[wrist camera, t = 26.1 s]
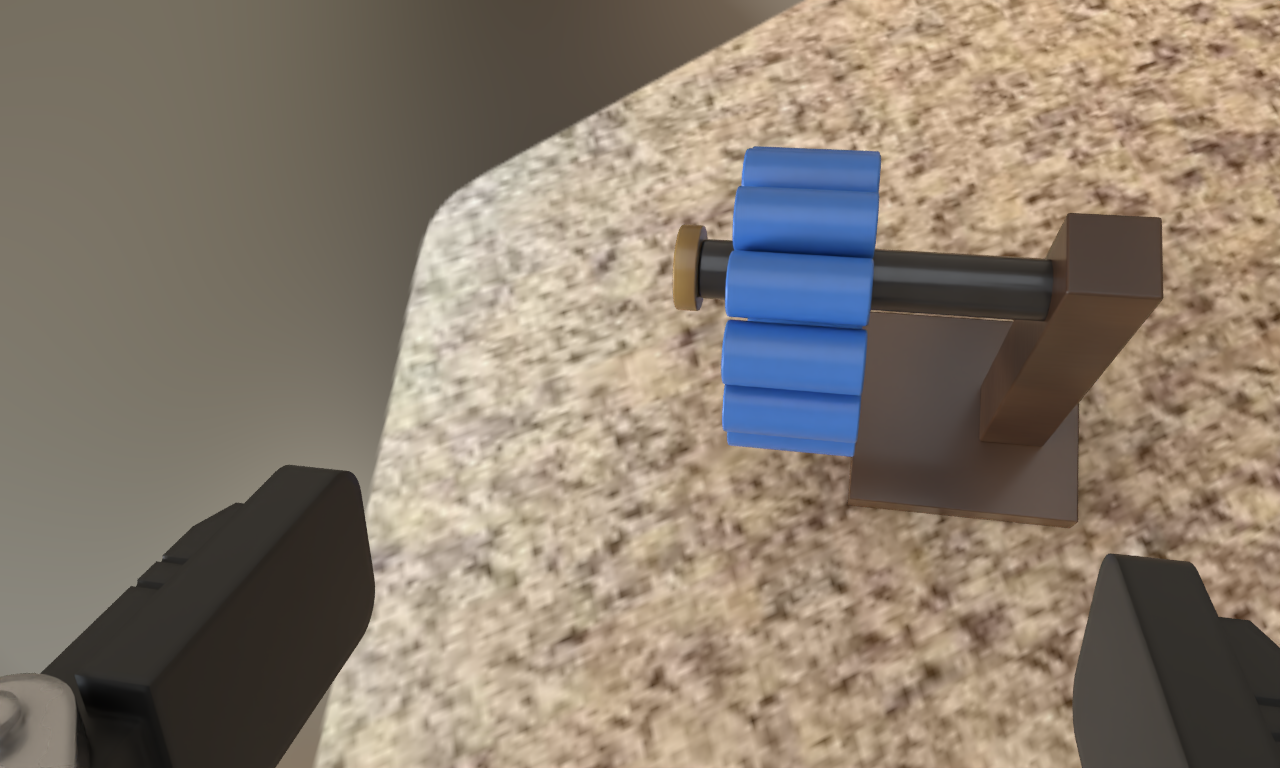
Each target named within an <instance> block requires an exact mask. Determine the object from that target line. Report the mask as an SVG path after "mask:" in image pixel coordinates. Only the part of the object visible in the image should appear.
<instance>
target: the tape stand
mask: <svg viewBox="0 0 1280 768" xmlns="http://www.w3.org/2000/svg"><path fill="white" fill-rule="evenodd" d="M732 251H734V248H733V241H730V240H713V239H708V238H707V231H706V228H705V226H701V225H682V226H681V227H680V229H679V232H678V235H677V240H676V245H675V252H674V262H673V299H674V304H675V307H676V309H678V310H690V311H698V310H700V308H701V305H702V302H703V298H706V299H721V300H725V288H726V275H727V267H728V261H729V257H730V254H731V252H732ZM873 260H874V275H873V288H872V300H871V310H881V311H896V312H911V313H925V314H940V315H954V316H969V317H984V318H998V319H1013V320H1014V321H1013V322H1012V321H997V320H983V319H968V318H954V317H939V316H925V315H910V314H896V313H881V312H870V318H869V323H868V325H867V326H863V327H862V329H865V330H867V333H868V336H867V352H866V365H865V375H864V385H863V392H862V394H861V407H860V419H859V429H858V438H857V442H856V444H855V453H854V456H853V457H851V467H850V480H849V493H848V505H851V506H861V507H871V508H880V509H890V510H900V511H910V512H919V513H929V514H939V515H949V516H958V517H968V518H978V519H987V520H997V521H1007V522H1017V523H1026V524H1036V525H1046V526H1056V527H1065V528H1071V527H1072V526H1073V525H1074V524H1076V523H1077V522H1078V444H1079V401H1080V400H1081V399H1082V398H1083V396H1084V395H1085V394H1086V393H1087V392H1088V390H1089V389H1090V388H1091V387H1092V385H1093V384H1094V383H1095V382H1096V381H1097V379H1098V378H1099V377H1100V376H1101V374H1102V373H1103V372H1104V371H1105V369H1106V368H1107V367H1108V366H1109V365H1110V363H1111V362H1112V361H1113V360H1114V358H1115V357H1116V356H1117V355H1118V354H1119V352H1120V351H1121V350H1122V349H1123V347H1124V346H1125V345H1126V344H1127V342H1128V341H1129V340H1130V339H1131V338H1132V336H1133V335H1134V334H1135V333H1136V331H1137V330H1138V329H1139V328H1140V327H1141V325H1142V324H1143V323H1144V322H1145V320H1146V319H1147V318H1148V317H1149V315H1150V314H1151V313H1152V312H1153V311H1154V309H1155V308H1156V307H1157V306H1158V304H1159V303H1160V302H1161V301H1162V299H1163V256H1162V220H1161V218H1159V217H1139V216H1119V215H1099V214H1079V213H1069V214H1067V216H1066V218H1065V220H1064V222H1063V224H1062V226H1061V228H1060V230H1059V232H1058V234H1057V236H1056V238H1055V240H1054V242H1053V244H1052V246H1051V248H1050V250H1049V252H1048V254H1047V256H1046V258H1045V259H1041V258H1024V257H1006V256H989V255H972V254H955V253H937V252H920V251H903V250H885V249H875V252H874V258H873Z"/></svg>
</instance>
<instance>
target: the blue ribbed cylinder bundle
mask: <svg viewBox="0 0 1280 768" xmlns="http://www.w3.org/2000/svg"><path fill="white" fill-rule="evenodd" d="M880 170H881V155H880V153H879V152H878V151H856V150H831V149H807V148H782V147H757V146H754V147H753V148H749V149H747V151H746V153H745V157H744V163H743V171H742V186H739V187H738V189H737V192H736V197H735V205H734V215H733V248H734V251H732V252H731V254H730V257H729V261H728V267H727V275H726V288H725V309H726V314H727V316H729V317H742V318H748V321H743V320H728V322H727V324H726V327H725V332H724V338H723V347H722V360H721V376H722V382H723V383H724V384H725V388H724V396H723V409H722V426H723V430H724V431H726V432H727V441H728V445H731V446H742V447H752V448H763V449H774V450H784V451H795V452H805V453H816V454H827V455H837V456H848V457H853V456H854V453H855V444H856V442H857V438H858V429H859V419H860V407H861V394H862V392H863V385H864V375H865V365H866V352H867V336H868V333H867V330H865V329H862V327H863V326H867V325H868V323H869V318H870V310H871V300H872V288H873V275H874V260H873V258H874V252H875V244H876V234H877V223H878V211H879V182H880Z"/></svg>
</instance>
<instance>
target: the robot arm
mask: <svg viewBox="0 0 1280 768" xmlns="http://www.w3.org/2000/svg"><path fill="white" fill-rule="evenodd" d="M137 581H138V583H137V586H136V587H133V586H131V587H130V588H129V589H127V590H126V592H124V593H123V594H122V595H121V596H120V597H119V598H118V599H117V600H116V601H115V602H114V603H113V604H112V605H111V606H110V607H109V608H108V609H107V610H106V611H105V612H104V613H103V614H102V615H101V616H99V618H97V619H96V621H94V622H93V623H92V624H91V625H90V626H89V627H88V628H87V629H86V630H85V631H84V632H83V633H82V634H81V635H80V636H79V637H78V638H77V639H76V640H75V641H74V642H72V644H70V645H69V646H68V647H67V648H66V649H65V650H64V651H63V652H62V653H61V654H60V655H59V656H58V657H57V658H56V659H55V660H54V661H53V662H52V663H51V664H50V665H49V666H48V667H47V668H46V669H45V670H43V671H42V672H41V673H40V674H36V673H23V674H22V673H21V674H13V675H6V676H1V677H0V768H275V767H276V766H277V764H278V763H279V761H280V760H281V759H282V757H283V755H284V754H285V753H286V751H287V749H288V748H289V746H290V745H291V744H292V742H293V740H294V739H295V738H296V736H297V734H298V733H299V731H300V730H301V729H302V727H303V725H304V724H305V723H306V721H307V720H308V718H309V716H310V715H311V714H312V712H313V711H314V709H315V708H316V706H317V705H318V703H319V701H320V700H321V699H322V697H323V696H324V694H325V693H326V691H327V690H328V688H329V687H330V685H331V684H332V682H333V681H334V679H335V678H336V676H337V675H338V673H339V672H340V670H341V669H342V667H343V666H344V664H345V663H346V661H347V660H348V658H349V657H350V655H351V654H352V652H353V651H354V649H355V648H356V646H357V645H358V643H359V642H360V640H361V639H362V637H363V635H364V634H365V631H366V629H367V627H368V624H369V622H370V618H371V615H372V611H373V606H374V599H375V581H374V573H373V567H372V560H371V554H370V547H369V541H368V534H367V527H366V521H365V514H364V508H363V501H362V495H361V490H360V485H359V483H358V480H357V478H356V477H355V475H354V474H353V473H351V472H349V471H343V470H332V469H324V468H314V467H305V466H295V465H285V466H283V467H281V468H280V469H278V470H277V471H276V472H275V473H274V474H273V475H272V476H271V477H270V478H269V479H268V480H267V481H266V482H265V483H264V484H263V485H262V486H261V487H260V488H259V489H258V490H257V491H256V492H255V493H254V494H253V495H252V496H251V497H250V498H249V499H248V500H247V501H246V502H245V503H244V504H242V503H235V504H233V505H231V506H229V507H227V508H226V509H224V510H222V511H220V512H218V513H216V514H215V515H213V516H211V517H209V518H208V519H205V520H204V521H202V522H200V523H198V524H196V525H195V526H193V527H192V528H191V529H190V530H189V531H188V532H187V533H186V534H185V535H184V536H182V538H180V539H179V540H178V541H177V542H176V543H175V544H174V545H173V546H172V547H171V548H170V549H169V550H168V551H167V552H166V553H165V554H164V555H163V559H162V562H156V563H155V564H154V565H152V566H151V567H150V568H149V569H148V570H147V571H146V572H145V573H144V574H143V575H142V576H141V577H140V578H139V579H138V580H137ZM1073 725H1074V733H1075V738H1076V743H1077V747H1078V752H1079V756H1080V761H1081V765H1082V768H1280V648H1279V647H1278V646H1277V645H1276V644H1275V643H1274V642H1273V641H1272V640H1271V639H1270V638H1268V637H1267V636H1266V635H1265V634H1264V633H1263V632H1262V631H1261V630H1260V629H1259V628H1258V627H1256V626H1255V625H1254V624H1253V623H1252V622H1251V621H1250V620H1241V619H1232V618H1223V617H1218V615H1217V613H1216V611H1215V608H1214V606H1213V604H1212V602H1211V600H1210V597H1209V595H1208V593H1207V591H1206V589H1205V586H1204V584H1203V582H1202V580H1201V578H1200V575H1199V573H1198V571H1197V569H1196V567H1195V566H1194V565H1193V564H1192V563H1190V562H1186V561H1177V560H1168V559H1158V558H1149V557H1139V556H1130V555H1120V554H1108V555H1106V557H1105V558H1104V560H1103V562H1102V564H1101V567H1100V570H1099V574H1098V578H1097V582H1096V586H1095V591H1094V595H1093V599H1092V603H1091V608H1090V612H1089V616H1088V621H1087V625H1086V629H1085V634H1084V638H1083V642H1082V646H1081V651H1080V655H1079V659H1078V664H1077V668H1076V673H1075V679H1074V687H1073Z"/></svg>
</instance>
